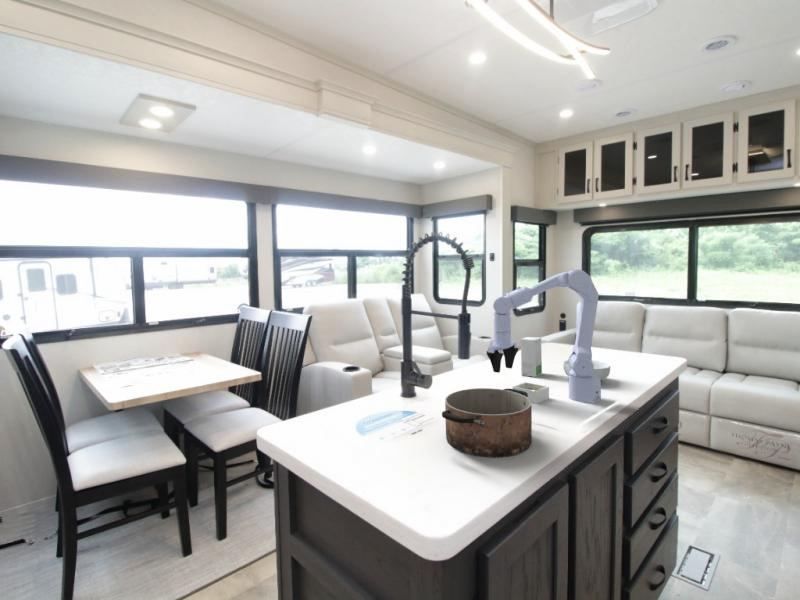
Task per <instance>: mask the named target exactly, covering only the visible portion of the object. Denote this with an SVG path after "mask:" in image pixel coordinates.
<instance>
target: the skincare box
mask: <svg viewBox="0 0 800 600" xmlns="http://www.w3.org/2000/svg"><path fill="white" fill-rule="evenodd" d="M542 355H543V354H542V337H537V336H535V337H534V336H526V337H523V338H522V337H521V338H520V356H521V357H520V362H521V363H520V365H521V367H520V368H521V376H522V375H525V376H524V377H529V376H532V377H531V378H536V377H538V376H540V375H541V373H542V374H543V369H542V368H543V367H542V365H543V363H542V361H543V358H542Z"/></svg>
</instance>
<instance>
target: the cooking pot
mask: <svg viewBox="0 0 800 600" xmlns="http://www.w3.org/2000/svg"><path fill="white" fill-rule="evenodd" d="M527 397H528V393H526V392H524V391H520V390H515V389H513V388H504V389H500V388H491V387H490V388H488V387H487V388H486V387H483V388H482V387H481V388H480V387H479V388H468V389H467V388H466V389H460V390H457V391H454V392H452V393H450V394H448V395H447V396H446V397H445V399H444V400H445V401H444V403H445V404H444V405H445V410H443V411H442V412H441V417H442V418H443V419H445V439H446V442H447V443H448V444H449V445H450V446H453V448H454V449H455V450H456V451H459V452H462V453H463V454H468V455H472V456H475V457H481V458H483V457H484V458H505V457H513V456H516V455H519V454H521V453H524V452H526V451H527V450H528V449H529V448H530V447H531V445H532V440H533V433H532V432H533V428H532V416H533V414H532V412H533V411H532V410H533V409H532V407H533V405H532V403H531V400H530V399H529V398H527Z"/></svg>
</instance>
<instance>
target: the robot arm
mask: <svg viewBox="0 0 800 600" xmlns="http://www.w3.org/2000/svg"><path fill="white" fill-rule="evenodd" d="M556 287H557V288H558V287H559V288H560V287H561V288H566V287H567V288H568V289H570V290H573V291H574V292H575V293H576V295H578V297H579V298H580V299H581V301H580V307H579V313H578V321H577V327H576V328H577V329H576V336H575V341H574V346H573V348H572V352H571V354H570V355H569V357H568V359H567V360H568V363H569V366H570V367H571V370H570V371H569V376H568V399H569V400H571V401H574V402H579V403H580V402H582V403H586V404H591V405H595V404H596V403H598V402H600V401H601V397H602V383H601V381H602V380H601V381H600V379H599V378H597V377H594V376H592V371H593V363H592V360H593V359H592V358H593V354H592V353H593V352H592V342H593V335H594V330H595V329H594V328H595V323H596V316H597V309H598V302H599V292H598V290H597V288H596V286H595V284H594V282H593V279H592V276H590V275H589V274H588V273H587V272H586V271H584V270H583V269H569V270H567V271H564V272H560V273H557V274H554V275H552V276H550V277H548V278H546V279H544V280H542V281H540V282H538V283H536V284H534V285H532V286H530V287H527V286H520V285H519V286H517V287H516V289H514V290H512V291H510V292H508V293H506V292H504V293H503V296H499V297H496V299H495V300H494V301H493V304H492V307H493V311H494V313H493V342H492V343H491V345H489V346H487V351H486V355H487V358H488V359H489V360H490V363H491V368H492V371H493V373H498V374H499V373H500V372H501V365H502V359H503V356H504V362H505V363H504V364H505V368H507V369H513V365H514V361H515V358H516V355H517V353H518V351H519V348H518V347H517V341H516V340H512V334H511V333H512V329H511V328H512V327H511V325H512V323H511V321H512V320H511V319H512V318H511V316H510V315H511V313H510V312H511V310H512V309H513V310H514V309H517V308H520V307H521V306H523V305H526V304H528V303H530V302H532V301H533V298H534V296H537V295H539V294H541V293H544V292H546V291H549V290H551V289H553V288H554V289H555V288H556ZM500 351H502V352H500Z"/></svg>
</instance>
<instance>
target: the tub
mask: <svg viewBox="0 0 800 600" xmlns="http://www.w3.org/2000/svg"><path fill="white" fill-rule="evenodd" d="M524 388H528V389H530V390H528V389H524ZM534 388H537V389H540V390H538V391H533V390H532V389H534ZM512 389H515V390H520V391H524V392H526V393H528V397H527V398H529V399H530V400H531V404H535V405H539V404H540V403H542V402H544V401H546V400H547V401H548V400H549V399H550V387H549V386H547V385H543V384H538V383H532V382H527V381H525V382H522V383H518V384H515V385H514V386H512Z"/></svg>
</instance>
